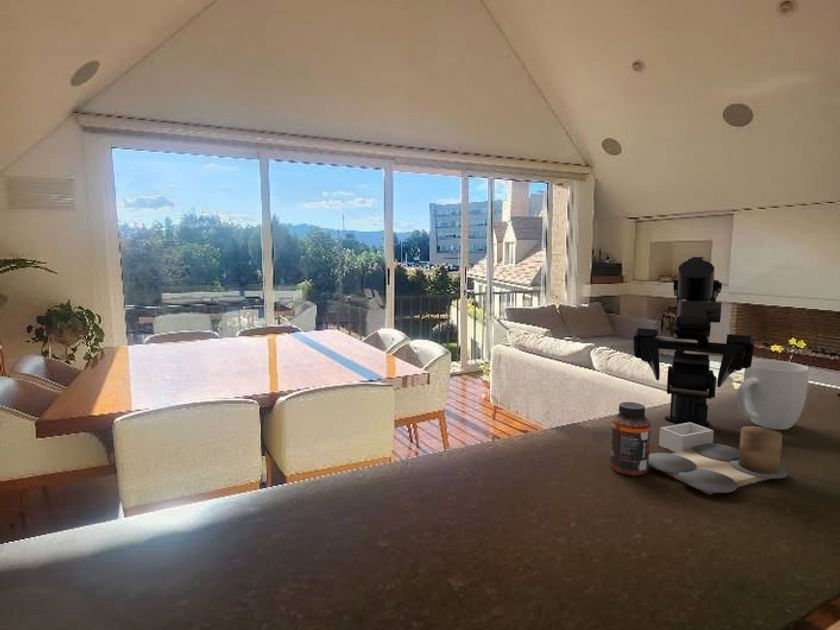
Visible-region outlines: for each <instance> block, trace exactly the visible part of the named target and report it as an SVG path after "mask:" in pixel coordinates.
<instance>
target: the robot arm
mask: <svg viewBox="0 0 840 630" xmlns="http://www.w3.org/2000/svg"><path fill="white" fill-rule="evenodd" d="M703 259H704V257H703V256H691V258H690V259H689V260H687V261H684V262H683V263H681V264H680V265H679V266H678V270H677V272H678V273H677V274H678V275H677V278H675V279H674V278H673V296H674V297H676V307H677V309H676V315H675V318H674V321H673V327H672V328H673V330H672V331H673V332H672V333H673V336H663V335H662V336H659V329H654V328H641V327H640V328H639V327H638V328H637V329H635V330H634V333H633V354H634V355H633V356H634V357H635V358H636V359H641V361H642V362H646V363H647V365H648V366H649V368H651V370H652V372H653V375H654V377H655V380H656V381H660V376H661V375H660V374H661V371H660V369H661V367H660V352H659V350H669V351H671V350H672V351H674V354H673V356H672V362H671V365H668V369H667V378H666V379H667V381H666V383H667V384H666V394H667V395H670V406H669V408H670V409H669V415H666V416H664V420H667V421H670V422H673V423H675V424H676V425H677V424H683V423H688V422H691V423H694V424H697V425H700V426H702V427H703V426H705V425H710V424H711V421H710V420H708V408H709V406H708V405H709V404H707V401H708V400H712V399H714V398H716V388H721V387H722V385H723V384H724V382H725V381H726V379H727V378H728V377H730V375H732V374H733V373H734V372H735V371H742V370H743V369H745V368H749V367H751V363H752V360H753V355H754V350H755V339H754V338H753V337H752V336H751V335H746V334H744V335H743V334H732V333H731V334H729V333H726V338H725V339H726V340H725V342H723V343H722V342H710V337H711V327H712V325H711V324H712V323H718V324H719V323H721V317H722V302H719V301H717V298H718V297H719V294H721V291H722V289H723V282H720V281H719V279H715V266H714V265H713V264H712V263H711V262H709V261H707V260H703ZM710 356H717V357H722V358H721V362H720V366H719V370H718V375H717V377H716V375H715V373H714V370H713V369H710V364H711V362H710V361H711V360H710V359H709V358H710ZM707 399H708V400H707Z"/></svg>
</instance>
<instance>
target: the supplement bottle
mask: <svg viewBox="0 0 840 630" xmlns="http://www.w3.org/2000/svg"><path fill="white" fill-rule="evenodd" d="M645 414H646V406H645V405H644V404H642V403H640V402H639V403H638V402H632V401H623V402H620V403H619V405H618V413H617V414H615V415H614V416H613V418H612V421H611V422H612V423H611V440H610V441H611V442H610V467H611V469H612V470H613V471H615V472H617V473H619V474H622V475H626V476H631V477H632V476H633V477H634V476H635V477H639V476H643V475H645V474H647V473H648V471H649V465H648V461H649V454H650V442H651V441H650V440H651V422H650V419H648V418H647V417H646V415H645Z"/></svg>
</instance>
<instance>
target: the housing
mask: <svg viewBox="0 0 840 630" xmlns="http://www.w3.org/2000/svg"><path fill="white" fill-rule="evenodd" d="M714 431H715V430H713V429H710V428H708V427H705V426H703V425H702V426H700V425H697V424H694V423H691V422H688V423H683V424H677V423H676V424H673V425H668V426H662V427H659V437H658V446H659V445H660V447H662V448H664V449H666V448H667V449H666V450H669V451H671V452H673V453H676V452H681V451H685V450H690V449H694V446H697V445H702V444H707V443H714Z"/></svg>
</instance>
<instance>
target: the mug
mask: <svg viewBox="0 0 840 630" xmlns="http://www.w3.org/2000/svg"><path fill="white" fill-rule="evenodd" d="M743 371H744V372H743V381H742V382H741V384H740V385H739V387H738V389H737V393H736V405H737V408H738V410H739V411H740V413H741V414H742V415H743V416H745V417H747V418H749V419H750V420H751V422H752V423H753V424H755V425H757V426H758V427H763V428H768V429H772V430H779V431H780V430H781V431H782V430H784V431H785V430H789V429H790V428H792V427H793V426H794V424H796V422H797V421H798V420H799V419H800V416H801V414H802V412H803V410H804V406H805V403H806V399H807V395H808V394H807V392H808V384H809V371H810V370H809V367H808V366H805V365H803V364H799V363H795V362H790V361H783V360H775V359H752V363H751V367H749V368H744V370H743Z"/></svg>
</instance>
